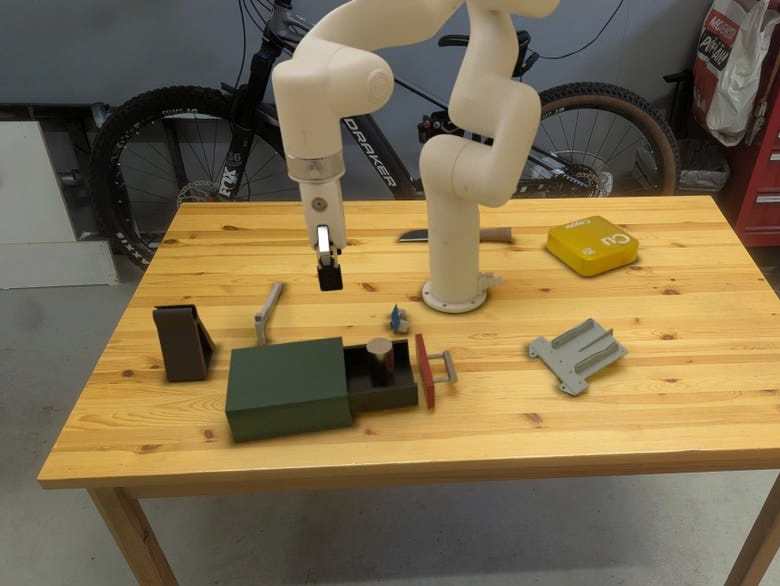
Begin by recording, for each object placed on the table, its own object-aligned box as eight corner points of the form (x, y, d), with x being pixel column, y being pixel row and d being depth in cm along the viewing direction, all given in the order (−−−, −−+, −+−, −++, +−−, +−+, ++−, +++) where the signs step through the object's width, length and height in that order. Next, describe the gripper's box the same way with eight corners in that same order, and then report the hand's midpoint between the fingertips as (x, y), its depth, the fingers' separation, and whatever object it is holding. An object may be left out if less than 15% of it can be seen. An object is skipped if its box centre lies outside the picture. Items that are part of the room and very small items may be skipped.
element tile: (596, 230, 152) (599, 211, 149) (640, 260, 142) (644, 240, 139) (542, 247, 146) (544, 227, 143) (584, 279, 136) (587, 259, 133)
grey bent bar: (266, 349, 117) (259, 320, 113) (259, 349, 117) (252, 320, 113) (282, 285, 133) (277, 257, 129) (277, 285, 133) (271, 258, 129)
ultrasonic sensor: (402, 339, 121) (409, 325, 120) (390, 336, 120) (397, 322, 119) (398, 320, 126) (405, 306, 124) (387, 317, 125) (394, 303, 123)
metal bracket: (587, 301, 120) (639, 348, 109) (591, 324, 124) (641, 371, 114) (520, 340, 117) (567, 392, 107) (526, 361, 121) (572, 413, 111)
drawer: (447, 352, 116) (446, 330, 113) (461, 404, 106) (461, 381, 103) (326, 367, 112) (322, 345, 109) (329, 422, 102) (325, 399, 99)
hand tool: (399, 224, 149) (510, 220, 148) (401, 236, 151) (511, 232, 150) (397, 235, 145) (511, 231, 144) (399, 248, 147) (511, 244, 146)
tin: (393, 371, 110) (390, 336, 105) (396, 387, 107) (393, 351, 102) (369, 374, 109) (365, 339, 105) (371, 390, 106) (367, 355, 102)
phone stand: (205, 380, 111) (185, 322, 103) (168, 382, 110) (145, 324, 102) (215, 346, 118) (198, 290, 110) (180, 348, 117) (160, 292, 109)
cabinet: (346, 366, 114) (341, 336, 110) (352, 426, 103) (347, 395, 99) (240, 379, 111) (231, 349, 107) (234, 442, 100) (224, 411, 96)
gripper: (345, 188, 82) (359, 302, 93) (342, 135, 95) (355, 241, 106) (283, 192, 81) (304, 307, 92) (289, 138, 94) (307, 244, 105)
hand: (331, 271), depth 99 cm, fingers open, 9 cm apart
